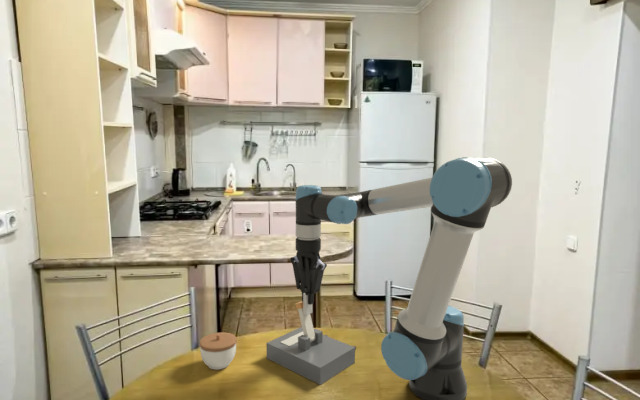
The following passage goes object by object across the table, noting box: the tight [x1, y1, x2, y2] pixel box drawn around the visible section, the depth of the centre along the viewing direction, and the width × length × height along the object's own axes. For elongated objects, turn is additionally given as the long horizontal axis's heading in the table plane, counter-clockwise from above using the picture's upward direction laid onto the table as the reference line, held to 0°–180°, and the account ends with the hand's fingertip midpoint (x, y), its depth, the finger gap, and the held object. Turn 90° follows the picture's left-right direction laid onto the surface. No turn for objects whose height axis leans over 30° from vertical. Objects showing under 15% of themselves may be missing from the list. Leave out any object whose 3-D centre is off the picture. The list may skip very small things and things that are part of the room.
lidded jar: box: [199, 331, 237, 371], centre depth 126 cm, size 11×11×9 cm
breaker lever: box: [294, 300, 316, 342], centre depth 129 cm, size 2×4×12 cm, turn 139°
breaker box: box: [266, 326, 356, 386], centre depth 129 cm, size 22×16×8 cm
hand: (307, 313), depth 128 cm, fingers closed
